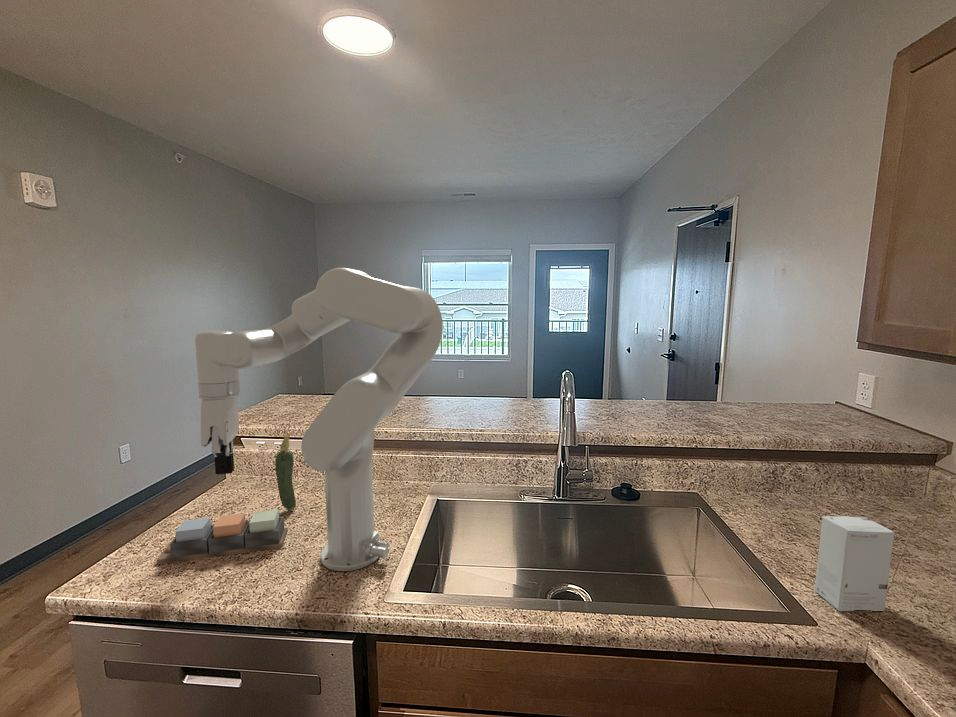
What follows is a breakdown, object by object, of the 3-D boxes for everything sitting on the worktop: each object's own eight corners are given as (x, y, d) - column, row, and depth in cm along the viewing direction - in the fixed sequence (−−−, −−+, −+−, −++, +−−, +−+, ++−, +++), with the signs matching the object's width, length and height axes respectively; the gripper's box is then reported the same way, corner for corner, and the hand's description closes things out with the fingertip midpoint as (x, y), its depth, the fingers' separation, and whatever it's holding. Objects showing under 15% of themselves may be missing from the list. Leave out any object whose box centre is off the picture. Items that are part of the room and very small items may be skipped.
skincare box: (838, 612, 75) (847, 531, 73) (812, 590, 81) (819, 514, 79) (887, 613, 75) (897, 531, 73) (857, 590, 81) (866, 514, 79)
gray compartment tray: (287, 531, 102) (286, 515, 101) (282, 547, 95) (281, 530, 95) (170, 546, 96) (169, 529, 95) (156, 564, 89) (154, 546, 89)
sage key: (279, 525, 100) (278, 509, 100) (275, 536, 96) (274, 519, 95) (255, 528, 99) (254, 512, 99) (250, 540, 94) (249, 522, 94)
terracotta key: (246, 529, 99) (245, 513, 98) (240, 541, 94) (239, 524, 93) (221, 533, 97) (220, 516, 97) (214, 544, 93) (212, 527, 92)
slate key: (211, 534, 97) (210, 517, 96) (203, 546, 92) (202, 528, 92) (186, 537, 96) (184, 520, 95) (177, 549, 91) (175, 531, 90)
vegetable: (283, 516, 110) (278, 439, 107) (274, 511, 112) (270, 436, 110) (300, 509, 113) (295, 435, 111) (291, 505, 116) (286, 432, 113)
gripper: (211, 383, 98) (216, 461, 100) (185, 397, 83) (192, 488, 86) (248, 382, 100) (252, 459, 102) (228, 396, 85) (234, 484, 88)
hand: (225, 472), depth 94 cm, fingers closed
